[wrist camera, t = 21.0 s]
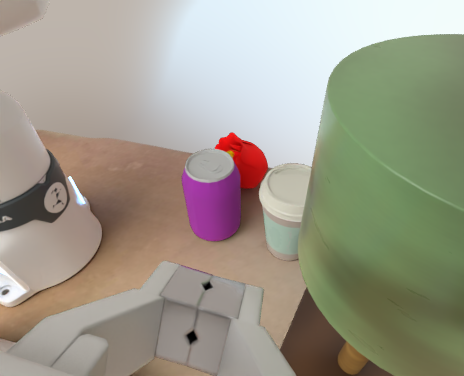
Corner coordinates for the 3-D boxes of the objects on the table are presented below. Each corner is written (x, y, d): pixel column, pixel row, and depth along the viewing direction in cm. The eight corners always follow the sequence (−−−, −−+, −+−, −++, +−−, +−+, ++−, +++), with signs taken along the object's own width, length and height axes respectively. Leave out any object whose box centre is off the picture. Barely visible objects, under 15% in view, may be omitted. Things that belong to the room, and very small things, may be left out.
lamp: (251, 424, 31) (267, 155, 8) (293, 323, 37) (369, 20, 14) (368, 502, 26) (1186, 442, 3) (391, 374, 33) (721, 62, 10)
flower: (282, 169, 50) (246, 149, 45) (252, 204, 53) (215, 189, 48) (262, 144, 56) (228, 124, 51) (237, 176, 58) (202, 161, 54)
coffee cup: (327, 239, 46) (345, 178, 37) (297, 281, 41) (310, 222, 33) (277, 212, 50) (284, 151, 41) (245, 248, 45) (244, 188, 37)
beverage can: (180, 229, 48) (166, 169, 39) (211, 198, 52) (204, 138, 44) (221, 253, 44) (215, 193, 36) (250, 218, 49) (251, 157, 40)
